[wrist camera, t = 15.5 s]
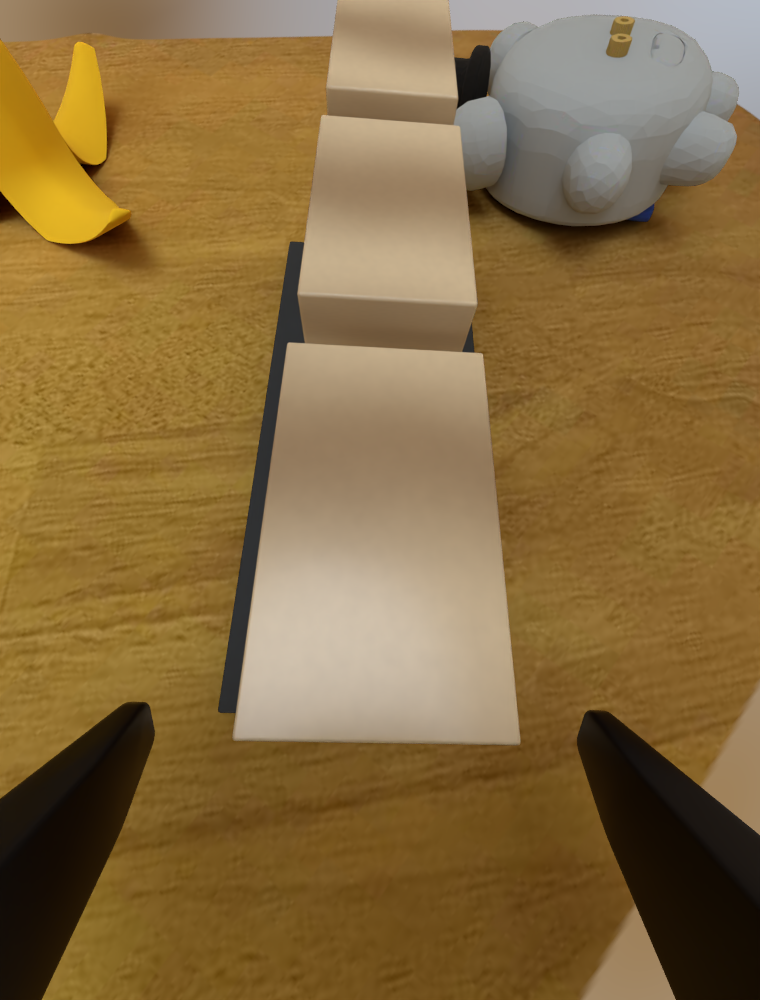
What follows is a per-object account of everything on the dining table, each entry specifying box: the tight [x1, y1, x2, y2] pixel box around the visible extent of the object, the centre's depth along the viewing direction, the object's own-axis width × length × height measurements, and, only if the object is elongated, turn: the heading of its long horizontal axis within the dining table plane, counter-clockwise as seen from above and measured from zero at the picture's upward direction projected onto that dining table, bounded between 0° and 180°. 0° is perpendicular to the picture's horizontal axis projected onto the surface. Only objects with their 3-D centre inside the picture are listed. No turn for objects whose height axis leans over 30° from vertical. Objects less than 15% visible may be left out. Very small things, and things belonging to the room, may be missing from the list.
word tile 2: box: [297, 115, 478, 352], centre depth 15 cm, size 7×4×11 cm, turn 179°
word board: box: [218, 242, 474, 713], centre depth 21 cm, size 26×11×1 cm, turn 179°
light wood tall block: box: [326, 0, 458, 125], centre depth 19 cm, size 7×4×11 cm, turn 179°
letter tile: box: [232, 342, 520, 745], centre depth 12 cm, size 7×4×11 cm, turn 179°
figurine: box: [454, 15, 739, 226], centre depth 28 cm, size 17×8×20 cm
